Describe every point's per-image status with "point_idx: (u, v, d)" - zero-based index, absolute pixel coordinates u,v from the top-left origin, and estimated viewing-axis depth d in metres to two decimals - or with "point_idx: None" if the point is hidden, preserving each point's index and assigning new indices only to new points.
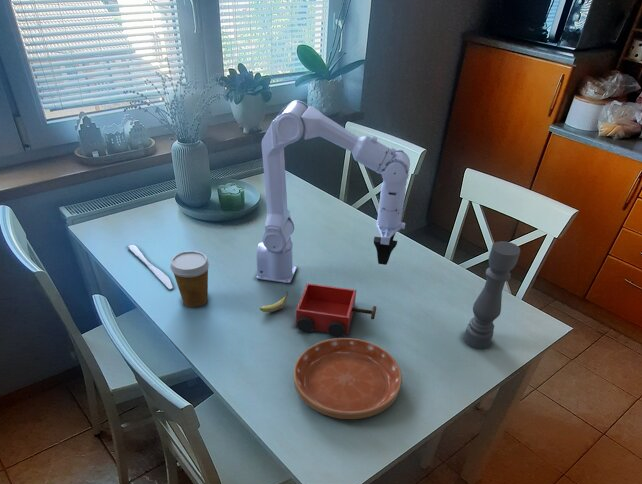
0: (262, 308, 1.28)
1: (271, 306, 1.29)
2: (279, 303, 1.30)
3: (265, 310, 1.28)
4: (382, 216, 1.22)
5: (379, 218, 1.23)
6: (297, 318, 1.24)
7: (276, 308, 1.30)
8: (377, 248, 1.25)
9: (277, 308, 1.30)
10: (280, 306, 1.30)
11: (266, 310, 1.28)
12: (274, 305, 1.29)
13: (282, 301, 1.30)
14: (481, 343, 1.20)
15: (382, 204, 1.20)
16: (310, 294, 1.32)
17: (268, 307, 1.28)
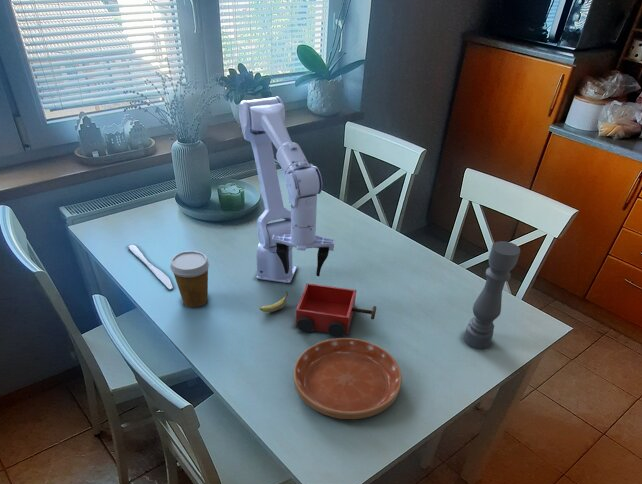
0: (262, 308, 1.28)
1: (271, 306, 1.29)
2: (279, 303, 1.30)
3: (265, 310, 1.28)
4: None
5: None
6: (297, 318, 1.24)
7: (276, 308, 1.30)
8: None
9: (277, 308, 1.30)
10: (280, 306, 1.30)
11: (266, 310, 1.28)
12: (274, 305, 1.29)
13: (282, 301, 1.30)
14: (481, 343, 1.20)
15: None
16: (310, 294, 1.32)
17: (268, 307, 1.28)
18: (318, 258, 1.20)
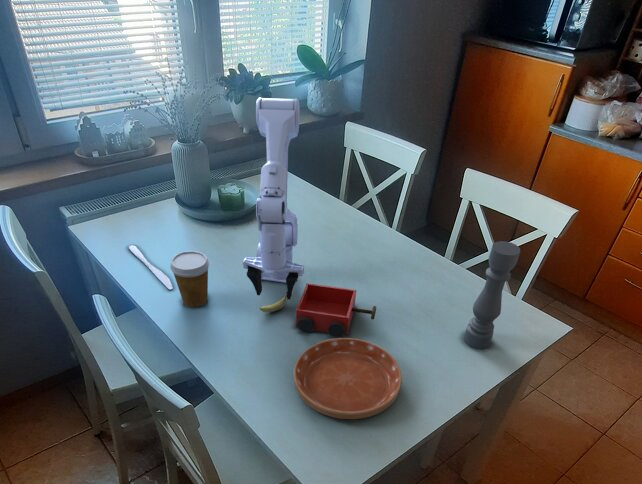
0: (262, 308, 1.28)
1: (271, 306, 1.29)
2: (279, 303, 1.30)
3: (265, 310, 1.28)
4: None
5: None
6: (297, 318, 1.24)
7: (276, 308, 1.30)
8: None
9: (277, 308, 1.30)
10: (280, 306, 1.30)
11: (266, 310, 1.28)
12: (274, 305, 1.29)
13: (282, 301, 1.30)
14: (481, 343, 1.20)
15: None
16: (310, 294, 1.32)
17: (268, 307, 1.28)
18: (287, 283, 1.21)
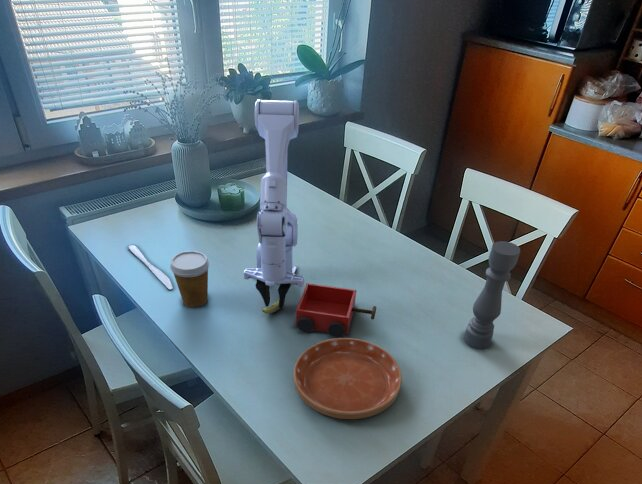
0: (265, 310, 1.27)
1: (272, 307, 1.29)
2: None
3: (268, 311, 1.28)
4: None
5: None
6: (297, 318, 1.24)
7: (277, 308, 1.30)
8: None
9: (278, 308, 1.30)
10: None
11: (269, 311, 1.28)
12: (275, 305, 1.29)
13: None
14: (481, 343, 1.20)
15: None
16: (310, 294, 1.32)
17: (270, 308, 1.28)
18: (279, 292, 1.24)
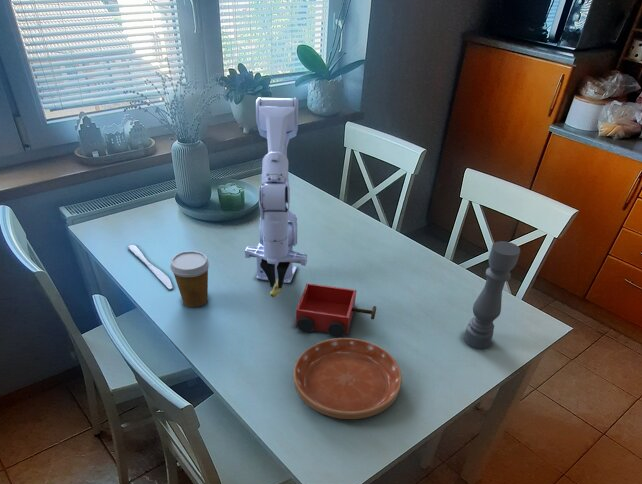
0: (273, 294, 1.23)
1: (276, 289, 1.25)
2: None
3: (276, 294, 1.24)
4: None
5: None
6: (297, 318, 1.24)
7: (280, 289, 1.26)
8: None
9: (280, 289, 1.26)
10: None
11: (276, 294, 1.24)
12: (277, 287, 1.26)
13: None
14: (481, 343, 1.20)
15: None
16: (310, 294, 1.32)
17: (276, 291, 1.24)
18: (278, 271, 1.20)
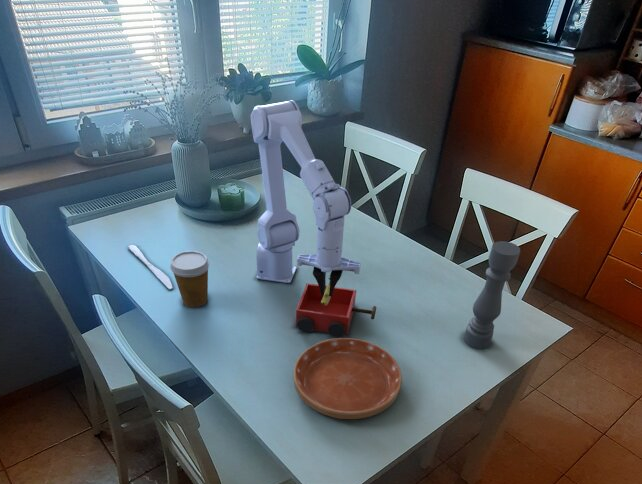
0: (325, 302, 1.21)
1: (327, 297, 1.23)
2: None
3: (327, 303, 1.22)
4: None
5: None
6: (297, 318, 1.24)
7: (330, 297, 1.25)
8: None
9: (330, 297, 1.25)
10: None
11: (327, 302, 1.22)
12: (328, 295, 1.24)
13: None
14: (481, 343, 1.20)
15: None
16: (310, 294, 1.32)
17: (327, 299, 1.23)
18: (331, 279, 1.18)
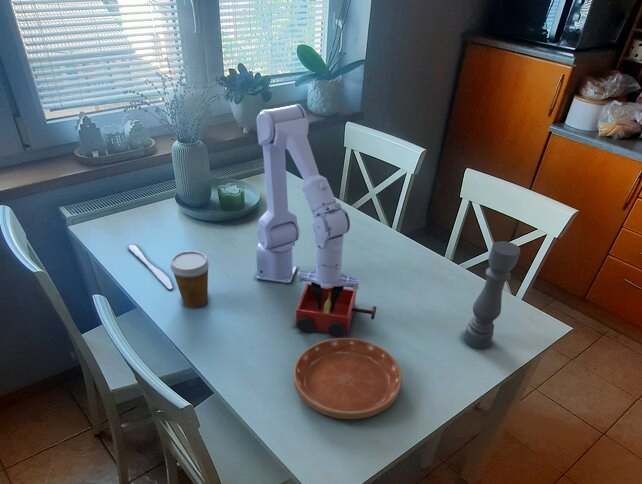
0: None
1: (326, 312, 1.26)
2: (328, 306, 1.28)
3: None
4: None
5: None
6: (297, 318, 1.24)
7: (329, 312, 1.27)
8: None
9: (329, 311, 1.28)
10: None
11: None
12: (327, 310, 1.27)
13: (329, 303, 1.28)
14: (481, 343, 1.20)
15: None
16: (310, 294, 1.32)
17: None
18: (332, 295, 1.21)
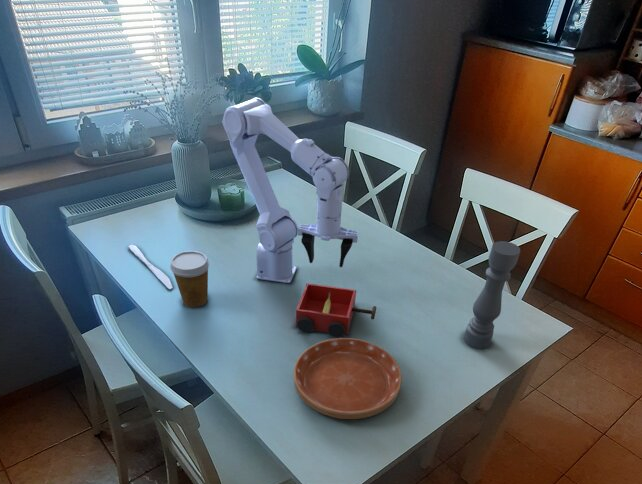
0: None
1: (326, 312, 1.26)
2: (328, 306, 1.28)
3: None
4: None
5: None
6: (297, 318, 1.24)
7: (329, 312, 1.27)
8: None
9: (329, 311, 1.28)
10: None
11: None
12: (327, 310, 1.27)
13: (329, 303, 1.28)
14: (481, 343, 1.20)
15: (317, 209, 1.19)
16: (310, 294, 1.32)
17: None
18: (341, 249, 1.24)
